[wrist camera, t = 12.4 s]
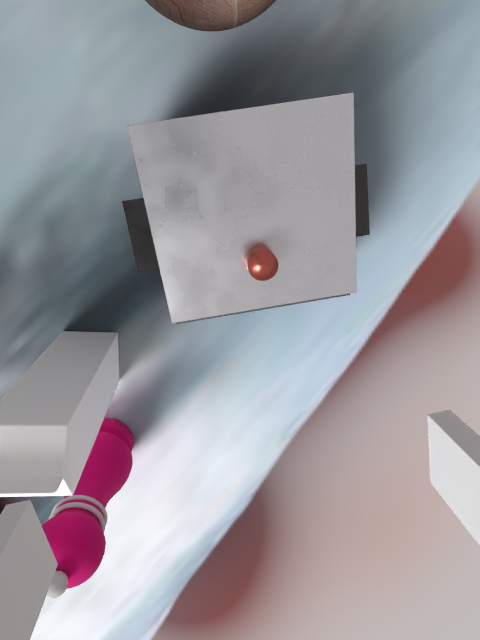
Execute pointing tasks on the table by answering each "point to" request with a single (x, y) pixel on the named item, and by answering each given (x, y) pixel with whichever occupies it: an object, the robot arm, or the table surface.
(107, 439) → the pepper mill
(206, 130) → the lid
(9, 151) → the table surface
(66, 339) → the milk
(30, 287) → the table surface
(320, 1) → the table surface
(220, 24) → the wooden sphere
